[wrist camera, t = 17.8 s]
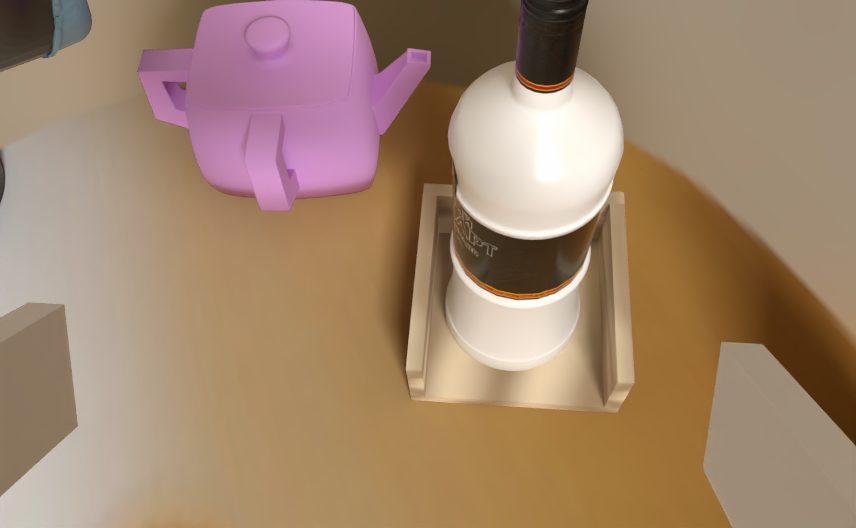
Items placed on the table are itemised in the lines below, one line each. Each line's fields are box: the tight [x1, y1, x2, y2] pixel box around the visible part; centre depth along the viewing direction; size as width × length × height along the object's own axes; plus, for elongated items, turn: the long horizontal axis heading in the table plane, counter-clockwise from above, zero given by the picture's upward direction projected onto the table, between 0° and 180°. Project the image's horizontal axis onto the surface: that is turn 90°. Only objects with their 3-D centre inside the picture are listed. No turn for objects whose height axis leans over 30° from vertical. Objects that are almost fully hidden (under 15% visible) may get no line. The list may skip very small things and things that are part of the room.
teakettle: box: [137, 0, 431, 211], centre depth 58 cm, size 17×17×12 cm
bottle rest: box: [406, 183, 634, 413], centre depth 52 cm, size 14×14×6 cm
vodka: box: [445, 0, 624, 371], centre depth 41 cm, size 9×9×30 cm
